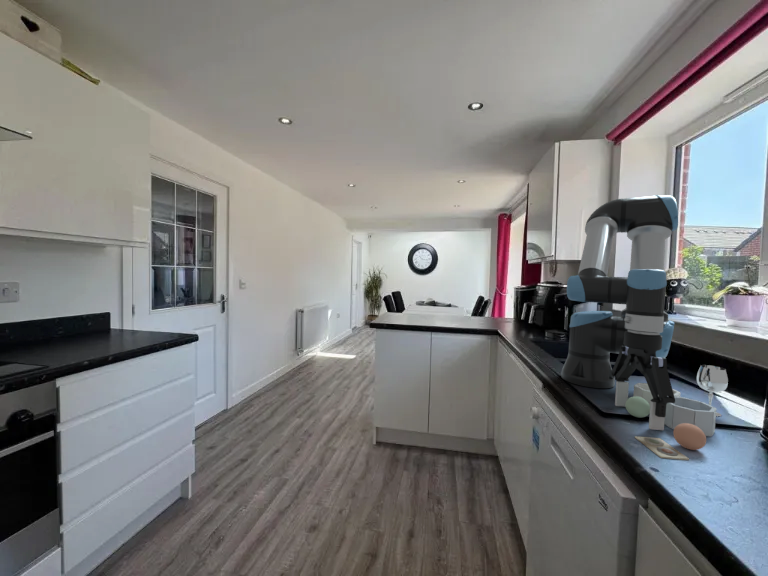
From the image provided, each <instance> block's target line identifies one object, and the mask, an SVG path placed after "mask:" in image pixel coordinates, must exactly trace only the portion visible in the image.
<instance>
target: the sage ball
mask: <svg viewBox="0 0 768 576" xmlns="http://www.w3.org/2000/svg"><path fill="white" fill-rule="evenodd" d="M625 406H626V407H625V409H626V410H627V411H626V412H628V414H630V415H631V416H633V417H635V418H639V419H640V418H646V417H647V416H649V415H650V405H649V403H648V402H647V401H646V400H645V399H643V398H641V397H638V396H631V397H628V399H627V401H626V404H625Z"/></svg>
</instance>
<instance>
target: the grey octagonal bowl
mask: <svg viewBox="0 0 768 576" xmlns="http://www.w3.org/2000/svg"><path fill="white" fill-rule="evenodd" d="M716 412H717V407H714V406H712V404H711V405H709V403H706V402H704V401H699V400H697V399H692V398H688V397H684V396H683V397H682V396H680V397H675V403H667V404H666V416H665V420H664V426H667V428H668V427H669V428H670V429H672V430H674V429H675V427H676V426H677V425H679V424H682V423H689V424H693V425H695V426H697V427H698V428H700V429H701V430H702V431H703V432H704V434H705V436H706V437H713V436H714V434H715V431H716V421H717V420H716V418H717V417H716Z"/></svg>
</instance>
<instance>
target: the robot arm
mask: <svg viewBox="0 0 768 576" xmlns="http://www.w3.org/2000/svg"><path fill="white" fill-rule="evenodd" d="M678 210H679V209H678V203H677V200H676V198H675V197H674V196H673V195H670V194H667V195H666V194H665V195H662V194H661V195H659V194H655V195H651V196H641V197H628V198H627V197H626V198H617V199H612V200H610V201H608V202H605V203H604V204H602V205H600V206H599V207H597V208H596V209H595V210H594V211H593V212H592V213H591V214H590V216H589V217H588V219H587V221H586V222H585V223H586V224H585V227H584V232H585V234H586V237H585V242H584V246H583V249H582V250H583V251H582V255H581V258H580V264H579V268H578V272H577V275H570V276H568V279H567V284H566V296H567V298H568V300H570V301H575V302H581V303H596V304H597V303H599V304H602V303H603V304H614V305H616V304H617V305H625V308H623V309H622V310H621V311H620V316H617V315H615V316H614V313H613V312H612V311H610V310H585V311H579V312H574V313H572V314H571V316H570V321H569V322H570V323H569V325H568V326H569V327H568V328H569V340H568V341H569V342H568V354H567V357H566V359H565V362H564V364H563V366H562V368H561V373H560V376H561V378H562V379H563V380H564V381H566V382H568V383H571V384H573V385H576V386H577V385H578V386H582V387H586V388H594V389H609V388H610V389H611V388H614V387H615V395H614V396H615V399H614V405H615V407H624V408H626V406H625V404H626V401H627V399H629V387H630V386H629V384H630V383H629V382H630V380H629V378H630V377H631V376H632V375H633V373H634V372H635V371H636V370H638V371H639V372H640V373H641V374H642V375H643V376H644V379H645V382H646V383H647V384H648V386H649V389H650V392H651V394H652V397H653V399H651V402H650V413H649V419H648V429H650V430H655V431H656V430H657V431H664V430H665V424H664V420H665V416H666V404H667V403H675V397H674V394H673V390H672V389H673V387H672V383H671V379H670V376H669V371H668V364H667V363H668V361H667V358H666V357H667V356H668V354H669V351H670V348H671V343H672V340H673V339H672V338H673V335H674V330H675V321H672V320H670V319H669V314H668V313H667V312H666V311H665V302H666V288H667V284H668V282H667V272H666V271H665V252H666V250H665V248H666V240H667V239H668V238H669V237H671V235H672V232H675V231H677V230H678V227H679V217H678V216H679V211H678ZM618 233H622V234H623V233H626V237H627V238H628V239H629V240H630V241H631V250H630V251H631V252H630V264H629V266H630V267H629V271H628V273H627V276H626V277H625V276H608V273H609V267H610V262H611V261H610V260H611V259H610V258H611V253H612V246H613V239H614V236H615V235H616V234H618ZM610 353H612V354H618V356H617V358H616V360H615V362H614V365H613V368H612V364H611V362H610V357H611V355H610ZM615 382H616V384H615ZM658 395H659V397H658Z"/></svg>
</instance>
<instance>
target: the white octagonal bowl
mask: <svg viewBox="0 0 768 576" xmlns="http://www.w3.org/2000/svg"><path fill="white" fill-rule="evenodd" d="M672 390H673V394H674V397H681V392H680V391H678V390H677V389H674V388H672ZM633 396H638V397H641V398H643V399H645V400H646V401H647V402H648V403H649V405H650V402H651V399H653V397H652V394H651V392H650V389H649V386H648V384H647V382H637V383H636V384H634V385H633ZM633 396H632V397H633ZM658 397H659V395H658Z"/></svg>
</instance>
